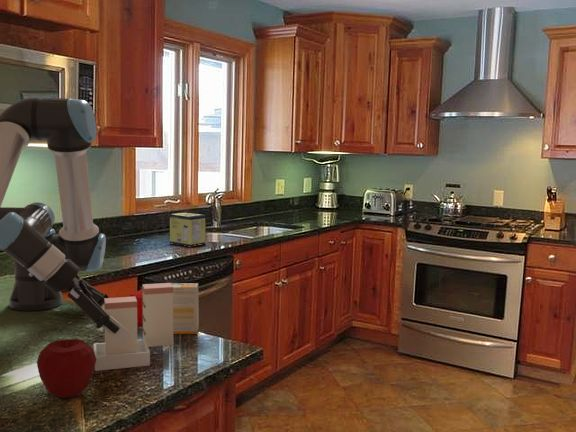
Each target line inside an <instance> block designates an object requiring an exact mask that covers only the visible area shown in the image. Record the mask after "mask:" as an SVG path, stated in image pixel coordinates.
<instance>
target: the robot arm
mask: <svg viewBox="0 0 576 432" xmlns="http://www.w3.org/2000/svg"><path fill="white" fill-rule="evenodd" d="M96 122H97V121H96V117H95V113H94V111H93V108H92V106H91V105H90V103H89V102H88V101H86V100H84V99H77V98H75V99H74V98H71V97H69V98H63V97H62V98H61V97H60V98H56V97H55V98H53V97H52V98H51V97H50V98H48V97H45V98H44V97H28V98H23V99H20V100H18V101H16V102H14V103H13V104H11V105H9V106H8V107H7V108H5V109H4V110H3V111H1V113H0V250H1V251H3V252H4V253H5V254H7V255H8V256H9V257H11V258H12V259H13V260H14V284H13V287H12V290H11V294H10V297H9V300H8V301H9V303H8V304H9V308H10V309H12V310H14V311H15V310H16V311H20V312H21V311H22V312H23V311H24V312H28V311H30V312H31V311H42V310H49V309H54V308H55V307H59V306H61V305H62V304H63V294H62V291H63V290H66V291H67V292H68V294H67V295H66V296H67V297H68V298H69V299H71V300H72V301H73V302H74V303H75V304H76V306H78V307H79V308H80V309H81V310H82V311H83V312H84V313H85V314H86V315H87V316H88V317H89V319H91V320H92V321H93V322H94V323H95V324H96V328H97V329H101V328H104V330H105V329H106V330H107V331H109V332H110V333H111V334H112V335H113V336H115V337H116V338H117V339H118V340H119V341H121V342H122V343H123V344H125V343H126V341H127V340H128V339H129V338H130V337H131V336H132V333H131V332H129V331H128V330H127V329H126V328H125V327H123V326H122V325H121V324H120V323H119V322H117V321H116V320H115V319H114V318H113V317H112V316H110V317H109V315H108V314H107V313H106V312H105V311H104V298H110V297H109V296H108V294H106V293H105V294H104V293H103V292H101V291H99V290H98V289H97V288H95V287H93V285H91V284H90V283H88V281H86V280H84V279H83V278H81V277H80V276H79V275H78V274H79V272H85V273H87V272H97V271H99V270H100V269H101V268H102V266H103V263H104V259H105V253H106V245H107V244H106V243H107V237H106V235H105V233H101V232H100V229H99V226H98V225H96V224H95V223H94V218H93V217H94V216H93V207H92V197H91V196H92V195H91V188H90V187H91V186H90V178H89V177H90V176H89V167H88V158H87V157H88V155H87V154H88V153H87V151H88V150H89V149H90V148H91V147H92V142H95V141H96V139H97V123H96ZM32 141H43V142H45V141H46V144H47V149H48V150H49V151H50V152H52V153H53V154H54V160H55V168H56V169H55V170H56V178H57V185H58V195H59V201H60V209H61V217H62V218H61V219H62V227H60V229H59V231H58V233H56V230H55V229H54V228H53V226H54V224H55V221H56V220H55V219H56V217H55V213H54V211H53V209H52V208H51V207H50V206H49V205H47V204H45V203H44V202H38V201H37V202H32V203H29V204H27V205H25V206H24V207H5V206H4V207H3V206H2V204H3V202H4V199H5V196H6V193H7V191H8V188H9V185H10V184H11V181H12V177H13V175H14V172H15V169H16V166H17V165H18V161H19V159H20V156H21V153H22V151H23V150H24V149H25V148H27V147H28V146H29V144H30V142H32Z"/></svg>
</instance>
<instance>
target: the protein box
mask: <svg viewBox="0 0 576 432" xmlns="http://www.w3.org/2000/svg"><path fill="white" fill-rule="evenodd" d="M170 243H173V244H178V245H186V246H194V245H198V244H205V245H206V215H205V214H199V213H188V212H177V213H170V214H169V244H170ZM178 245H177V246H178Z"/></svg>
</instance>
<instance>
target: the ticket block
mask: <svg viewBox="0 0 576 432" xmlns="http://www.w3.org/2000/svg"><path fill="white" fill-rule="evenodd" d="M171 283H172V282H165V283H164V282H163V283H162V282H160V283H145V284H141V285H142V286H141V287H142V290H143V300H142V304H143V313H142V317H143V326H141V327H142V328H141V329H142V339H146V342H147V345H148V348H150V347H151V348H152V347H153V348H154V347H161V346H162V347H163V346H173V345H174V334H173V286H172V284H171Z"/></svg>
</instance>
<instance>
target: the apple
mask: <svg viewBox="0 0 576 432" xmlns="http://www.w3.org/2000/svg"><path fill="white" fill-rule="evenodd" d="M95 363H96V356H95V353H94V348H93V347H92V346H91V345H89V344H88V343H86V341H83V340H82V339H78V338H72V339H71V338H69V339H68V338H66V339H59V340H54V341H52V342H49V343H48V344H47V345H46V346H45V347H44V348H43V349H42V350H41V351H40V352H39V355H38V358H37V360H36V366H37V370H38V374H39V378H40V380H41V382H42V384H43V385H44V387H45V388H46V391H47V392H48V393H50V394H51V395H53V396H54V397H58V398H60V399H70V398H75V397H77V396H78V395H80V394H81V393H83V391H85V389H86V388H87V387H88V385H89V383H90V381H91V379H92V377H93V374H94V371H95Z"/></svg>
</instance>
